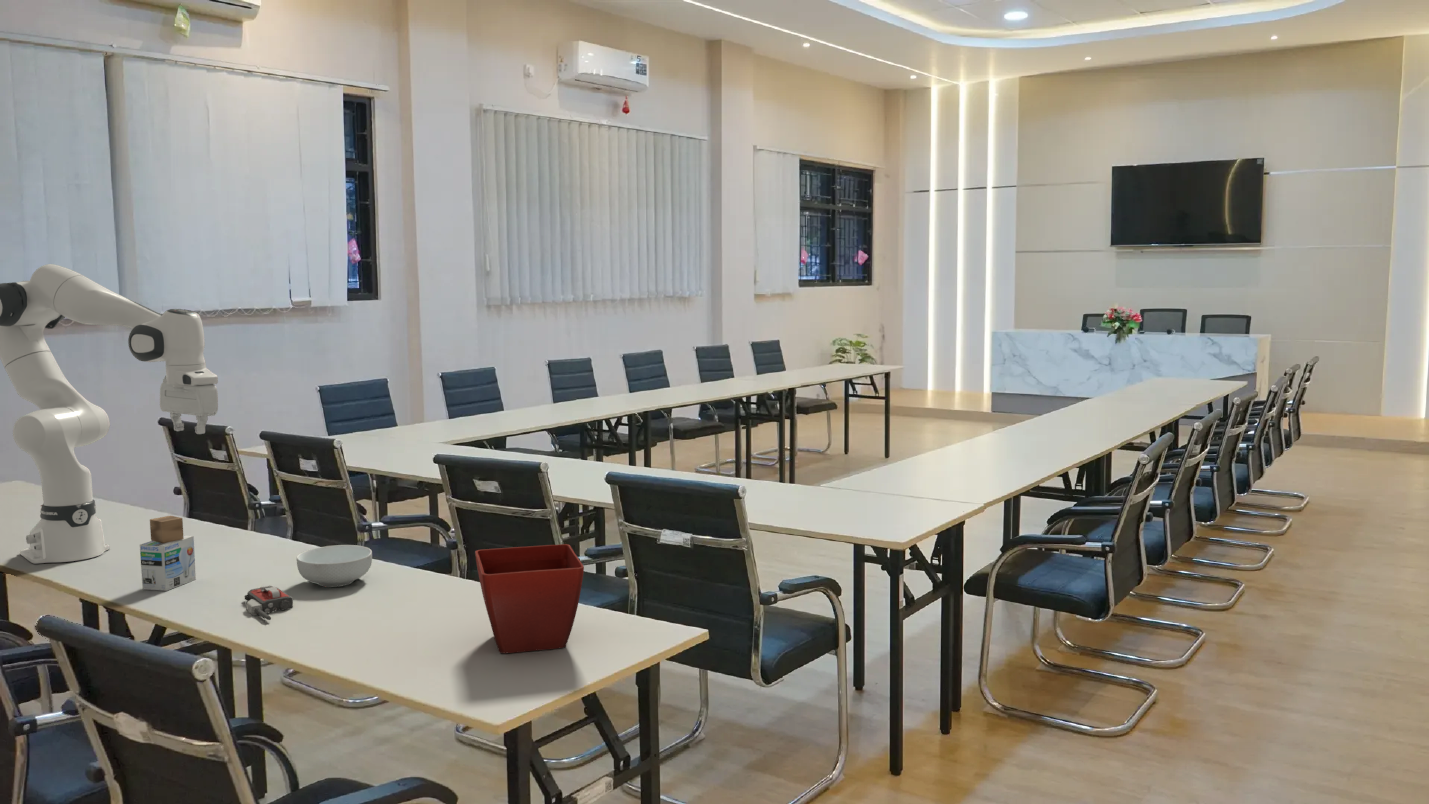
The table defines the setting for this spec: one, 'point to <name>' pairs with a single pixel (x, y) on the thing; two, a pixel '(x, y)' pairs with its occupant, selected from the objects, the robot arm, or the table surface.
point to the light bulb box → (167, 564)
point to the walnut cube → (166, 529)
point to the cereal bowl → (334, 564)
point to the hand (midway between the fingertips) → (189, 432)
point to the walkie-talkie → (267, 601)
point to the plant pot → (530, 595)
